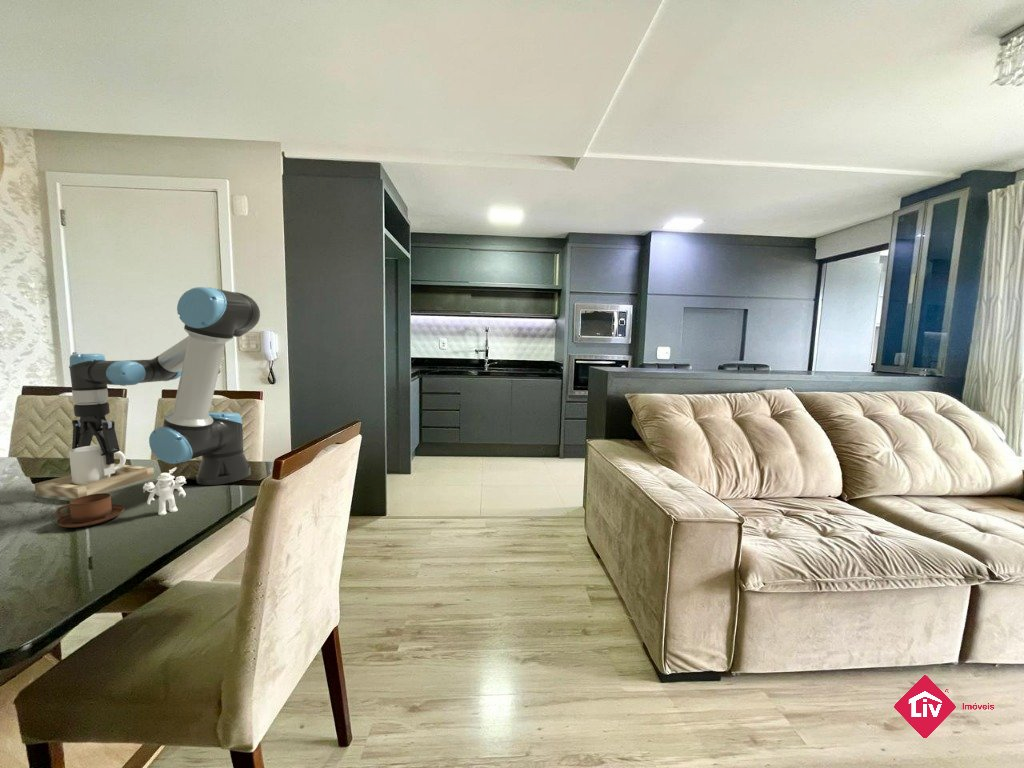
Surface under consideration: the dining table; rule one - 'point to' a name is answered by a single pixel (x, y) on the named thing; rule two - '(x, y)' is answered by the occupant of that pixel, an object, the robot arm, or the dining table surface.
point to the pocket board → (94, 484)
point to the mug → (89, 464)
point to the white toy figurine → (165, 491)
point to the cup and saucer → (89, 511)
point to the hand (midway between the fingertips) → (98, 472)
